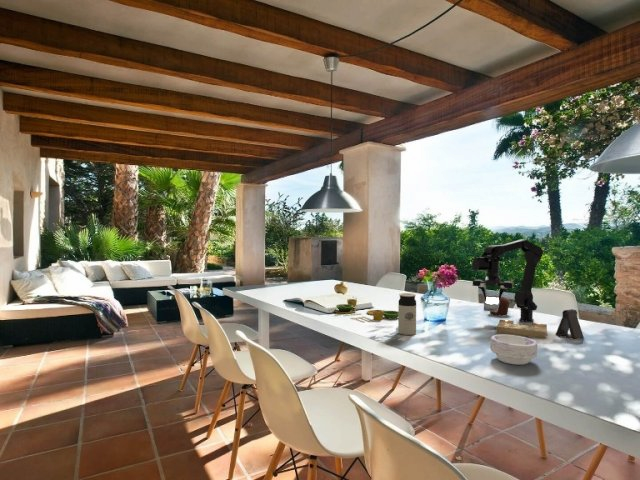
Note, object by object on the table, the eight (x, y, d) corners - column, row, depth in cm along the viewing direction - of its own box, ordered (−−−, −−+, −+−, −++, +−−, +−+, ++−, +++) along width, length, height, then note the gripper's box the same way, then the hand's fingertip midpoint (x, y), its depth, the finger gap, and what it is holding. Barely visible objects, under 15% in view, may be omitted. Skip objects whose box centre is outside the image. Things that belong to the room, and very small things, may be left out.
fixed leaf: (500, 326, 201) (500, 318, 200) (546, 332, 190) (546, 323, 190) (496, 332, 189) (496, 324, 188) (545, 338, 178) (545, 329, 178)
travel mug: (398, 330, 192) (398, 292, 192) (415, 331, 191) (416, 293, 190) (398, 334, 184) (398, 295, 184) (416, 335, 183) (416, 295, 182)
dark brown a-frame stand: (555, 335, 185) (555, 308, 185) (563, 333, 188) (564, 307, 187) (575, 339, 177) (575, 312, 177) (583, 338, 180) (584, 311, 179)
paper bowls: (547, 365, 143) (547, 343, 142) (511, 369, 138) (511, 346, 138) (514, 353, 157) (515, 332, 157) (481, 356, 153) (481, 335, 153)
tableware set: (326, 310, 245) (326, 299, 245) (365, 306, 257) (365, 296, 257) (362, 324, 208) (362, 312, 208) (406, 319, 220) (406, 307, 220)
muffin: (512, 314, 233) (512, 296, 232) (506, 317, 224) (506, 298, 224) (491, 311, 240) (491, 294, 240) (484, 314, 232) (484, 296, 232)
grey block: (487, 302, 213) (486, 295, 212) (499, 303, 210) (499, 296, 209) (484, 312, 206) (483, 305, 204) (496, 313, 203) (496, 306, 201)
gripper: (470, 270, 207) (470, 301, 207) (511, 272, 198) (510, 304, 198) (474, 268, 217) (474, 298, 217) (513, 270, 207) (513, 301, 207)
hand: (492, 300), depth 210 cm, fingers closed on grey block, 6 cm apart
